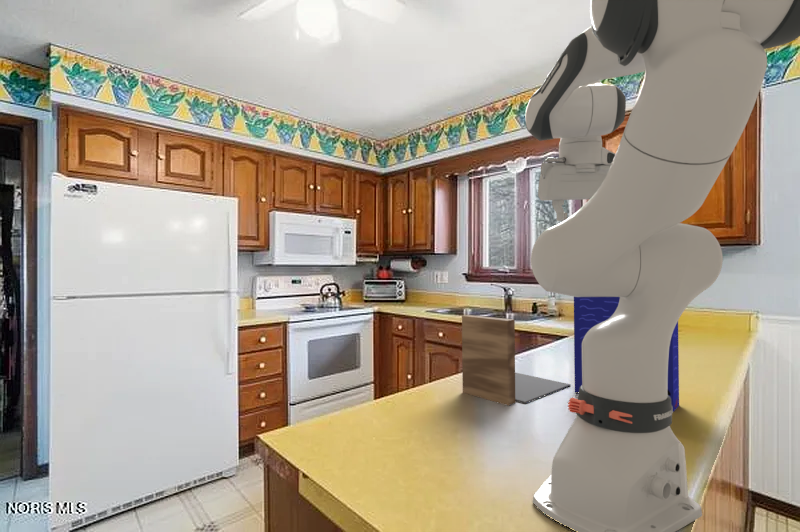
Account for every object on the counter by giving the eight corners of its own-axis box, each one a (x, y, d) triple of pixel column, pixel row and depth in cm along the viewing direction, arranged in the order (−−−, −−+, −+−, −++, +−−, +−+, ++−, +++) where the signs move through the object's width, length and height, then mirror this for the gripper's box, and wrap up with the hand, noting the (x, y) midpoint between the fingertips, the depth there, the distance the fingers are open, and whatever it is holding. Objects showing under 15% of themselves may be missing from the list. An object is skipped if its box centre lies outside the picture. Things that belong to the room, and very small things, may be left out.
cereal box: (679, 405, 97) (677, 277, 97) (673, 412, 93) (671, 277, 93) (583, 387, 112) (582, 276, 112) (574, 392, 108) (573, 276, 108)
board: (508, 405, 98) (507, 320, 98) (462, 392, 109) (461, 315, 109) (515, 402, 100) (514, 319, 100) (470, 390, 111) (469, 315, 111)
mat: (525, 403, 99) (525, 401, 99) (466, 387, 113) (466, 385, 113) (570, 386, 113) (570, 384, 113) (513, 373, 127) (513, 372, 127)
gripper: (551, 155, 86) (550, 222, 88) (626, 156, 93) (623, 218, 95) (532, 159, 92) (531, 221, 94) (603, 160, 99) (601, 218, 101)
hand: (578, 220), depth 95 cm, fingers open, 8 cm apart
